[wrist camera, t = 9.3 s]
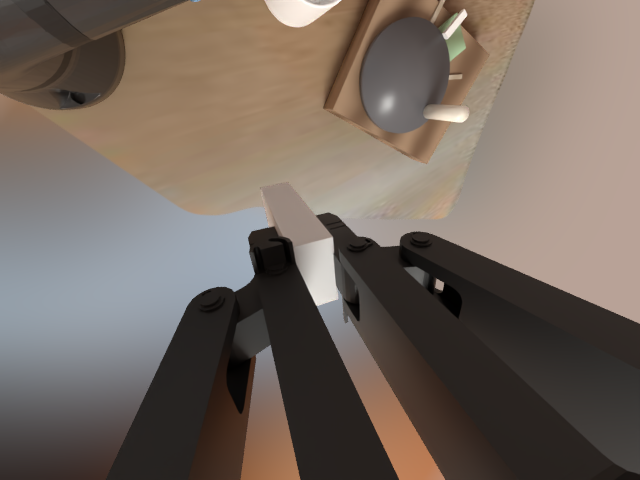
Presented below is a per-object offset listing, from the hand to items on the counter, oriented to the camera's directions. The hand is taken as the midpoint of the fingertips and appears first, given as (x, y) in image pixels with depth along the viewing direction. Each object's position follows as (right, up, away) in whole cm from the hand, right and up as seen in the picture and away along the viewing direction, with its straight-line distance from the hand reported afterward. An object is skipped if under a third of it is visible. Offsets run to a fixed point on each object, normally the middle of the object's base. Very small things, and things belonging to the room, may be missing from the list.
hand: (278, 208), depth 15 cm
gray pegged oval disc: (+15, +23, +24) cm, 36 cm away
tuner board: (+15, +24, +28) cm, 40 cm away
